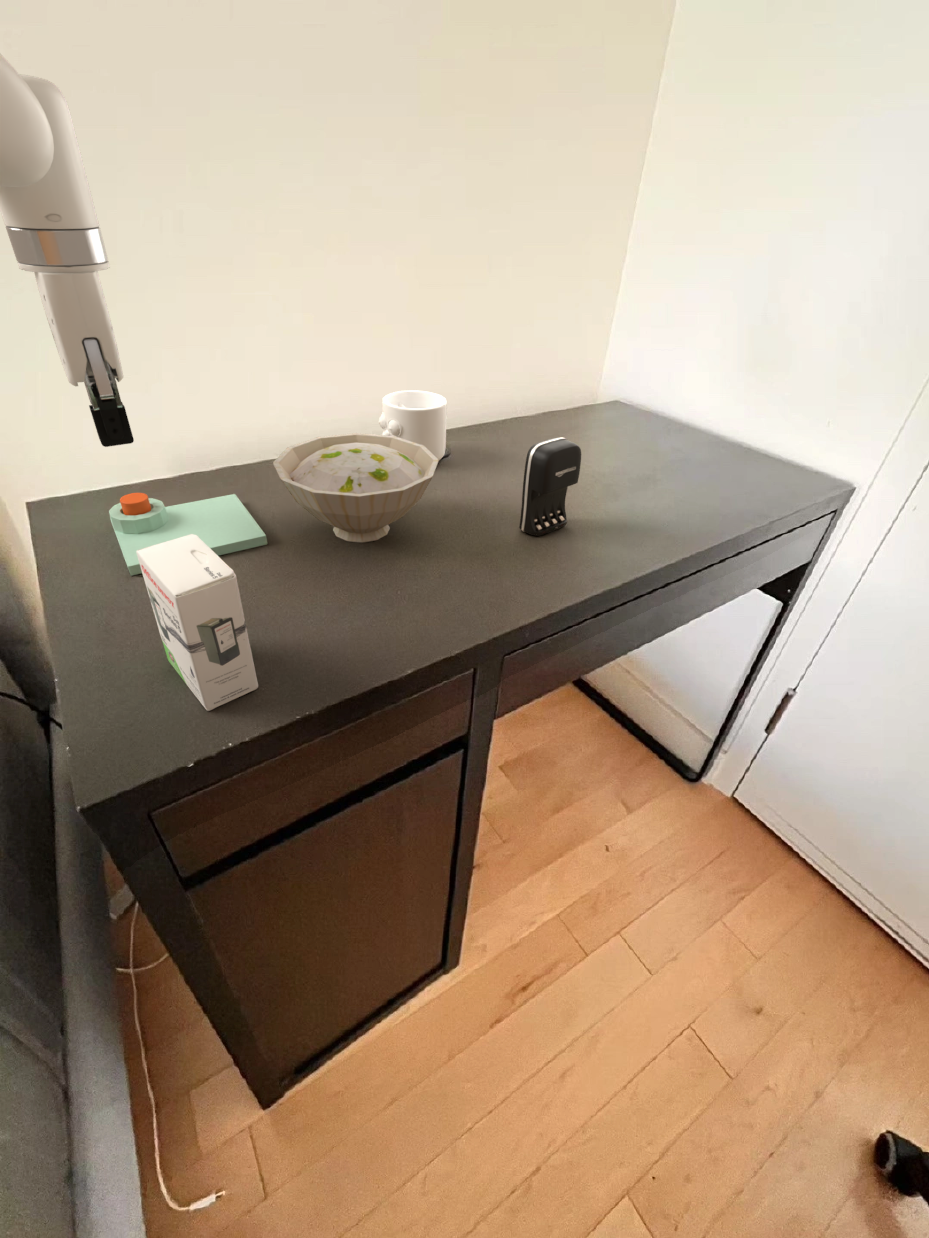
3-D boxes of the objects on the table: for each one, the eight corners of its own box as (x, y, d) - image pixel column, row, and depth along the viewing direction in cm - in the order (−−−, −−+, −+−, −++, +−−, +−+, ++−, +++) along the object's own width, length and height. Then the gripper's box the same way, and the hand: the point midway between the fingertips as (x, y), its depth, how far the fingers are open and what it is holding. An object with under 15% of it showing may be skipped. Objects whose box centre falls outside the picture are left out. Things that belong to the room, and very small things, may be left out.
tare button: (126, 519, 71) (121, 505, 70) (121, 509, 73) (117, 495, 72) (153, 513, 73) (150, 500, 72) (148, 504, 75) (145, 490, 74)
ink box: (166, 661, 55) (130, 547, 49) (219, 640, 58) (192, 530, 51) (206, 714, 50) (172, 595, 44) (262, 688, 53) (239, 572, 46)
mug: (362, 449, 99) (358, 392, 94) (416, 438, 104) (415, 383, 99) (401, 475, 92) (400, 414, 86) (457, 461, 97) (459, 403, 91)
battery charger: (537, 542, 77) (549, 454, 70) (516, 530, 79) (525, 444, 72) (574, 527, 80) (589, 442, 74) (553, 516, 83) (565, 433, 76)
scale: (130, 576, 66) (122, 551, 65) (112, 526, 75) (105, 503, 73) (267, 544, 73) (264, 521, 72) (236, 502, 82) (232, 480, 80)
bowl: (334, 486, 87) (328, 415, 82) (460, 513, 82) (463, 440, 76) (249, 546, 73) (234, 465, 67) (396, 583, 68) (394, 500, 62)
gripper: (10, 241, 61) (71, 426, 71) (17, 261, 50) (87, 472, 61) (95, 241, 64) (141, 417, 75) (117, 259, 54) (167, 460, 65)
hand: (117, 441), depth 68 cm, fingers closed
